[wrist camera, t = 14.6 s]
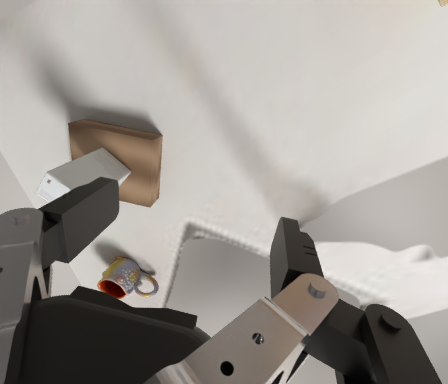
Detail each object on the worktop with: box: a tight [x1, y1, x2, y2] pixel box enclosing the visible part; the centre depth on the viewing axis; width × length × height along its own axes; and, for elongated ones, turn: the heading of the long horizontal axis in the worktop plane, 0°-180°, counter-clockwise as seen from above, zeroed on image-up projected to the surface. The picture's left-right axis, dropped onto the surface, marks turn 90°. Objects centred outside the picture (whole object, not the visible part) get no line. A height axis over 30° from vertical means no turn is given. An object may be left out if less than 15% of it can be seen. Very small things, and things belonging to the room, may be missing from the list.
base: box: [68, 119, 163, 207], centre depth 43 cm, size 12×14×4 cm
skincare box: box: [35, 147, 131, 203], centre depth 36 cm, size 6×4×12 cm
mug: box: [97, 256, 159, 299], centre depth 53 cm, size 12×7×7 cm, turn 73°
